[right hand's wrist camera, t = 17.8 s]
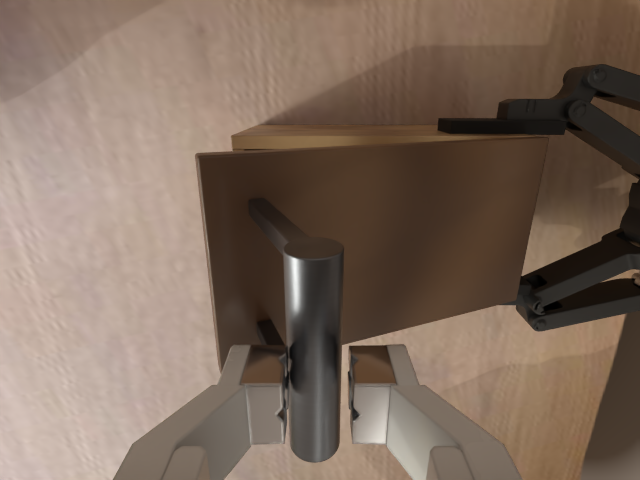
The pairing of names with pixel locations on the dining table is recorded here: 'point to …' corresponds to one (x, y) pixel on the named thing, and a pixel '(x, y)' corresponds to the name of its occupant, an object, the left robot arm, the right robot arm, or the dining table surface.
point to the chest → (344, 136)
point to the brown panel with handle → (359, 250)
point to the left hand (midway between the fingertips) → (435, 208)
